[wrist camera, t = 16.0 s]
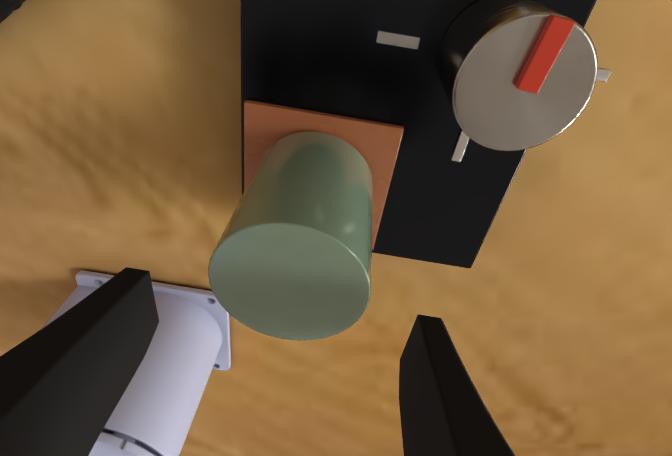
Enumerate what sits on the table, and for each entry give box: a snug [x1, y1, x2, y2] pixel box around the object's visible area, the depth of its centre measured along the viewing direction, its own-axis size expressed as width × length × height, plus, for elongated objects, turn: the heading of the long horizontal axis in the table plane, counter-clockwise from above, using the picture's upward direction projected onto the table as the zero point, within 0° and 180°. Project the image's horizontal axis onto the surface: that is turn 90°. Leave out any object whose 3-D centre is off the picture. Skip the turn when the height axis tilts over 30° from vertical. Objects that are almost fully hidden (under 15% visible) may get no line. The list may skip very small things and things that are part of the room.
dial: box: [438, 0, 598, 151], centre depth 12 cm, size 4×4×4 cm
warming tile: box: [244, 100, 404, 250], centre depth 17 cm, size 6×6×1 cm
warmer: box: [241, 0, 611, 268], centre depth 16 cm, size 12×13×3 cm
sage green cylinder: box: [208, 132, 373, 340], centre depth 14 cm, size 5×5×6 cm
